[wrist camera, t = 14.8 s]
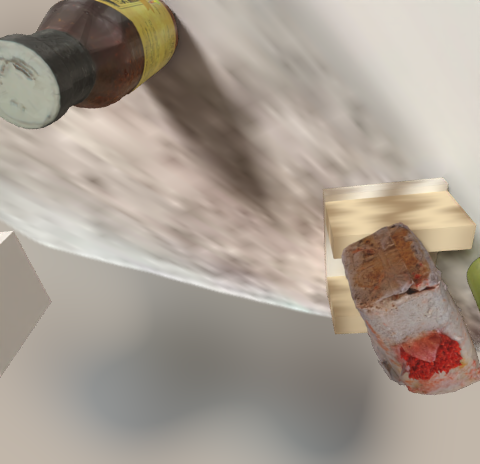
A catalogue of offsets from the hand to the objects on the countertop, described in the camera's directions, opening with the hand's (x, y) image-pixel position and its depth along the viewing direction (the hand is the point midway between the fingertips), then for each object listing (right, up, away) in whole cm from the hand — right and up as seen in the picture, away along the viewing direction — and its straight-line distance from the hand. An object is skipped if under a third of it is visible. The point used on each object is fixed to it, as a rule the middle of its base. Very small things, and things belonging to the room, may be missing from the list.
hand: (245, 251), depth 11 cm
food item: (+15, -4, +27) cm, 31 cm away
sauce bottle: (-9, +18, +23) cm, 31 cm away
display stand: (+15, 0, +33) cm, 37 cm away
